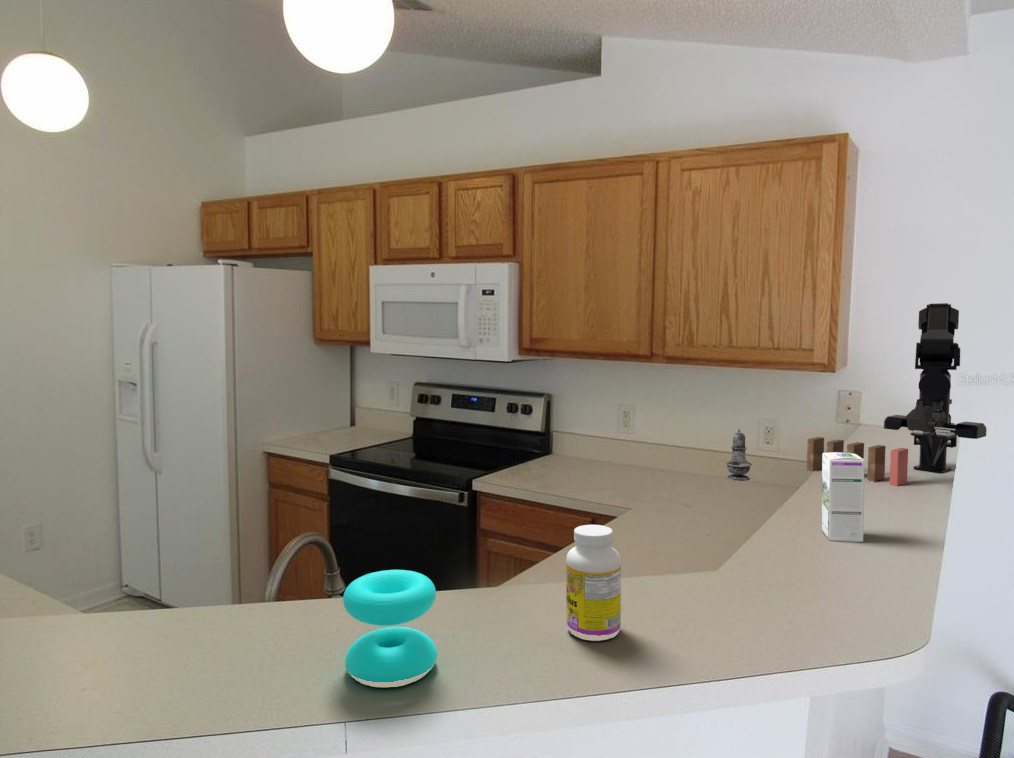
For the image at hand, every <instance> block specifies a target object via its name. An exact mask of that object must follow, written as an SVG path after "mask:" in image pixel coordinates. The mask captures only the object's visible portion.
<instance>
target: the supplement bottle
mask: <svg viewBox="0 0 1014 758" xmlns="http://www.w3.org/2000/svg"><path fill="white" fill-rule="evenodd" d="M573 539H574V542H575V546H573V547H572V548H570V549H569V551H568V552H567V554H566V559H565V560H566V563H565V564H566V567H565V570H566V584H565V585H566V590H565V592H566V595H565V596H566V597H565V598H566V602H565V603H566V604H565V605H566V609H565V610H566V616H565V617H566V626H567V625H568V626H569V627H570V628H571V629H573V630H575V631H577V632H580V633H582V634H586V635H597V636H601V635H610V634H613V633H615V632H617V631H618V630H619V629H620V627H622V626H621V625H622V624H621V620H622V619H621V618H622V617H621V614H622V613H621V612H622V610H621V609H622V608H621V607H622V604H621V603H622V602H621V601H622V599H621V598H622V597H621V595H622V593H621V592H622V591H621V590H622V582H621V581H622V579H621V578H622V577H621V575H622V572H621V571H622V562H621V561H622V559H621V555H620V553H619V552H618V550H616V549H615V548H614V547H612V543H613V541H614V532H613V529H612V528H611V527H609V526H605V525H601V524H584V525H579V526H577V527H575V528H574V530H573ZM620 630H621V629H620Z"/></svg>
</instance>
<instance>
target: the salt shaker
mask: <svg viewBox="0 0 1014 758" xmlns="http://www.w3.org/2000/svg"><path fill="white" fill-rule="evenodd" d="M731 450H732V456H731V459H730V461H726V462H725V464H726V467H727V470H728V472H729V473H730V474H728V475H727V477H726V479H728V480H730V481H736V482H737V481H738V482H746V481H750V480H751V477H749V476H748V475H746V474H748V473H749V472H750V469H751V466H752V463H750V462H748V461H747V458H746V450H747V447H746V435H745V433H742V432H741V429H740V428H738V430H737V432H735V433H733V435H732V446H731Z"/></svg>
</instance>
